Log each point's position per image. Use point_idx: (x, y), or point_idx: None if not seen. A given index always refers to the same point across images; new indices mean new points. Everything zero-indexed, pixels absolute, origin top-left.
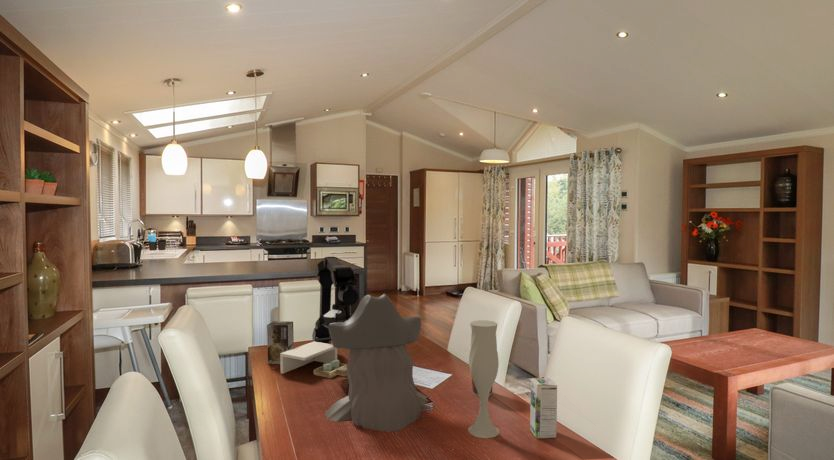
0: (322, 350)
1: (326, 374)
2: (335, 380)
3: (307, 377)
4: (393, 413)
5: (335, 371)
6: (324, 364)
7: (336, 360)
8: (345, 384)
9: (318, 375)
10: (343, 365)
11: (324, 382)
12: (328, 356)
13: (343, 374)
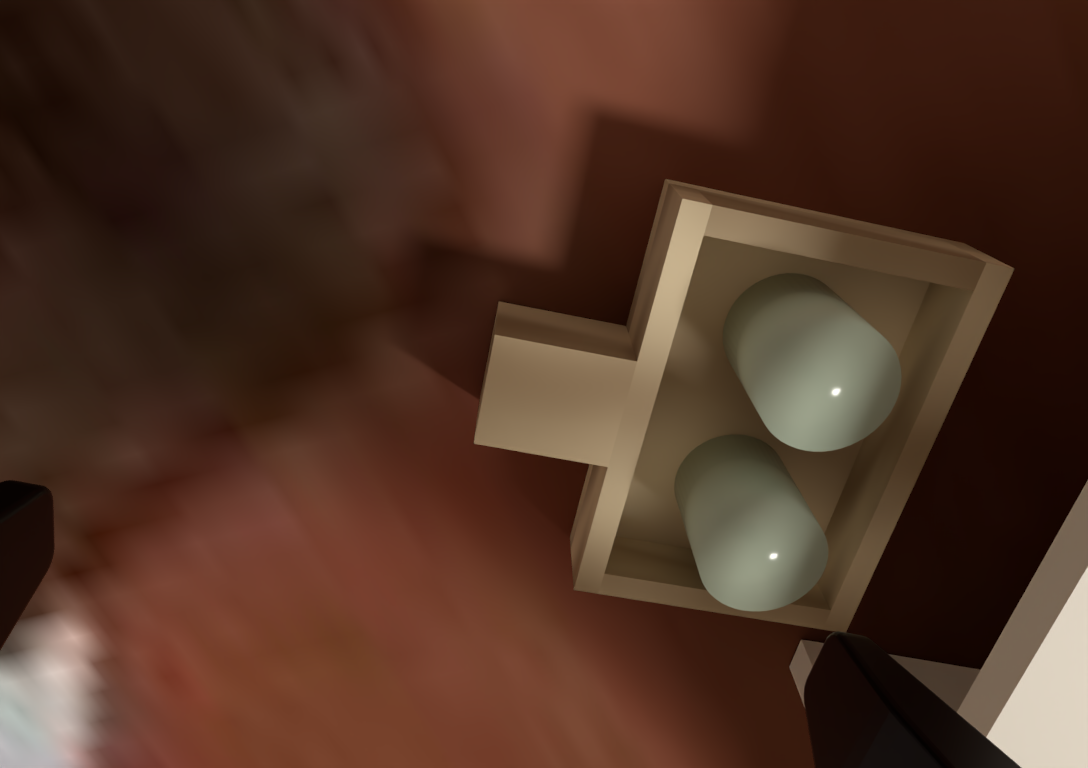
0: (1061, 634)
1: (752, 207)
2: (577, 157)
3: (1037, 160)
4: None
5: (646, 315)
6: (871, 365)
7: (746, 574)
8: (355, 38)
9: (887, 229)
10: (644, 569)
11: (703, 27)
12: None
13: (522, 319)
